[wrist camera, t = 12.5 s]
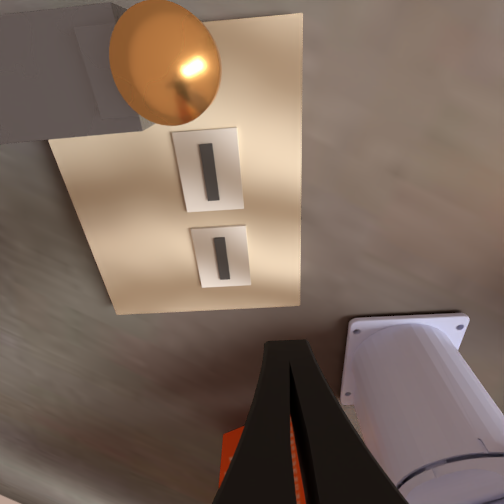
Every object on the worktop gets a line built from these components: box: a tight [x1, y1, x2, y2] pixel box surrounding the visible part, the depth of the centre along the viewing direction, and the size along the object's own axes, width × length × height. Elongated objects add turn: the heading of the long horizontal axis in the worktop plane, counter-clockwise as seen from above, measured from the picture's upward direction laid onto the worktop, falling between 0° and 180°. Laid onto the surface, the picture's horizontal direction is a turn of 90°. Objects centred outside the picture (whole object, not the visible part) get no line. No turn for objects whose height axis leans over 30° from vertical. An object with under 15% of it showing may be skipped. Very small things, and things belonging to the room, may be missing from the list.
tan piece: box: [48, 13, 303, 315], centre depth 15 cm, size 15×12×5 cm
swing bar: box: [0, 0, 222, 144], centre depth 11 cm, size 14×4×4 cm, turn 95°
